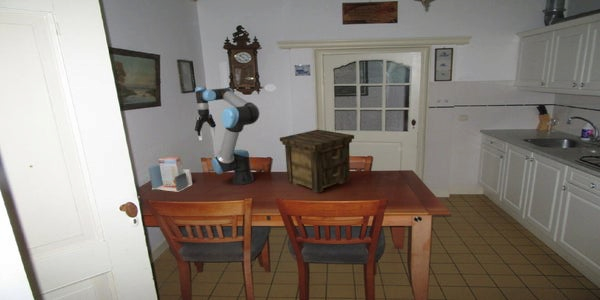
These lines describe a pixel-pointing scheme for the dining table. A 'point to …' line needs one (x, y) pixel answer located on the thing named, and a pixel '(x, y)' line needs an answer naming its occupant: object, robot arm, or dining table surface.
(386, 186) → the dining table surface
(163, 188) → the book rack
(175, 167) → the cracker box
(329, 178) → the wooden drawer cabinet
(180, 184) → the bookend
